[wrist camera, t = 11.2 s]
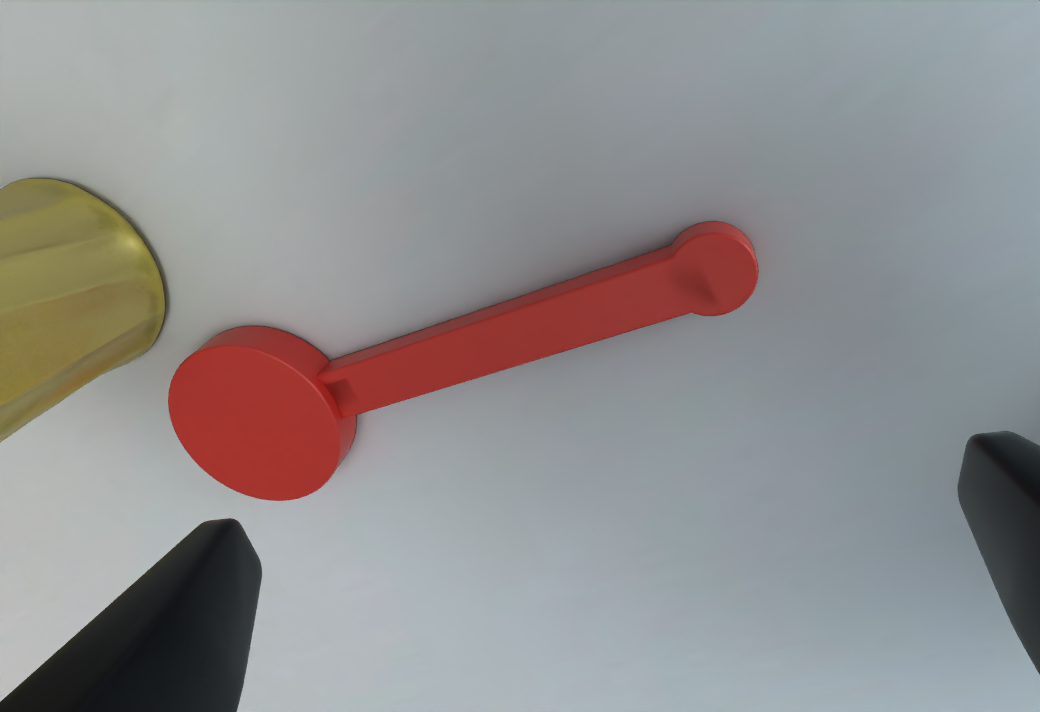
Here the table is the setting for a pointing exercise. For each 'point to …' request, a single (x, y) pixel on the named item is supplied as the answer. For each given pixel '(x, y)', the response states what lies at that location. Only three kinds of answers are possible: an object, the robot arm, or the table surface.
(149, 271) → the vase
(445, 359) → the spoon
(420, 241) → the table surface
